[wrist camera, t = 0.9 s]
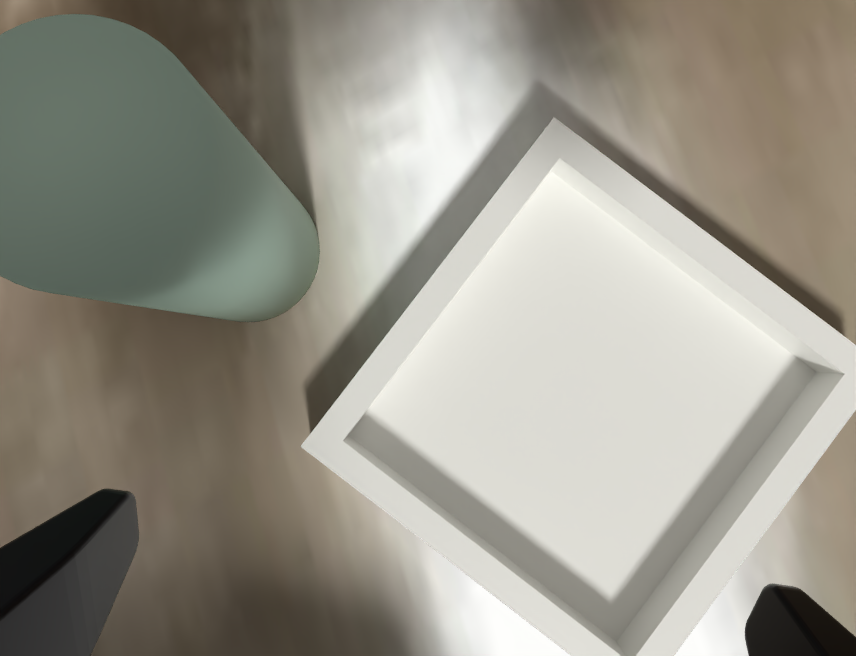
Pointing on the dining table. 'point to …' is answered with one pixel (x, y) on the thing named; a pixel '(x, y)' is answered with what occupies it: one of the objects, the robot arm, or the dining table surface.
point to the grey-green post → (137, 181)
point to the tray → (592, 406)
